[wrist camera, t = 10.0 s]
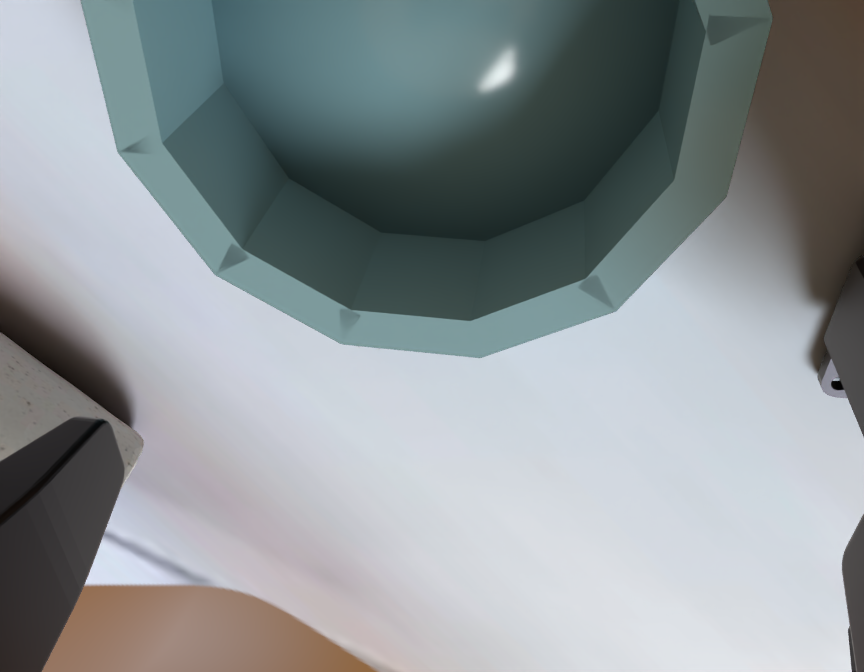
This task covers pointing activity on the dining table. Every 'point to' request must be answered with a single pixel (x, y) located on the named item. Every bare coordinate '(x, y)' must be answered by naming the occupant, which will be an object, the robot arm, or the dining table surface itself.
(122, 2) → the bowl
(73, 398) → the ceramic mug
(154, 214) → the dining table surface
